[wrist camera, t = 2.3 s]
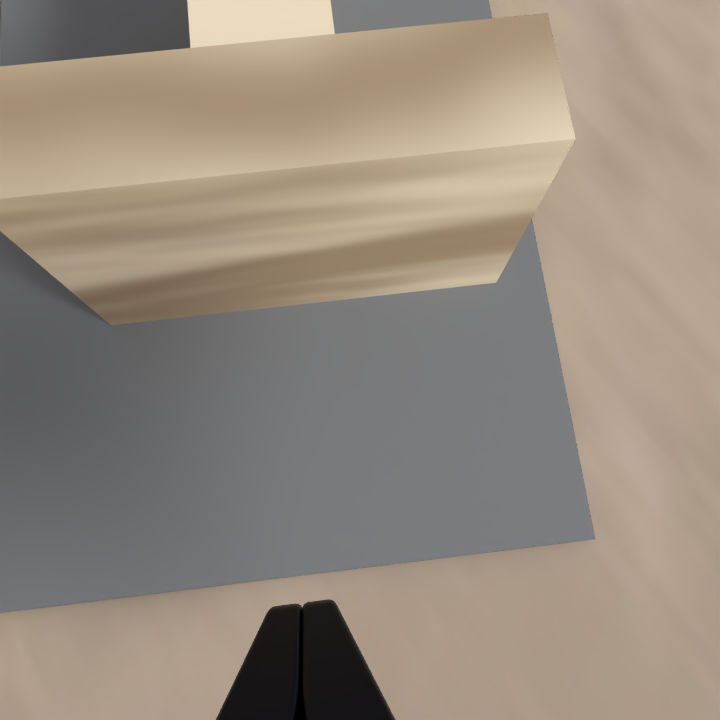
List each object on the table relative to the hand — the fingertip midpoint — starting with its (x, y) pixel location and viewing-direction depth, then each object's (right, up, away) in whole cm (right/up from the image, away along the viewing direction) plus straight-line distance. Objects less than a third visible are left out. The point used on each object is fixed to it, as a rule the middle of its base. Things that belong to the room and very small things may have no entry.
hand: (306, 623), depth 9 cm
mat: (-3, +9, +14) cm, 17 cm away
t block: (-2, +10, +14) cm, 17 cm away
